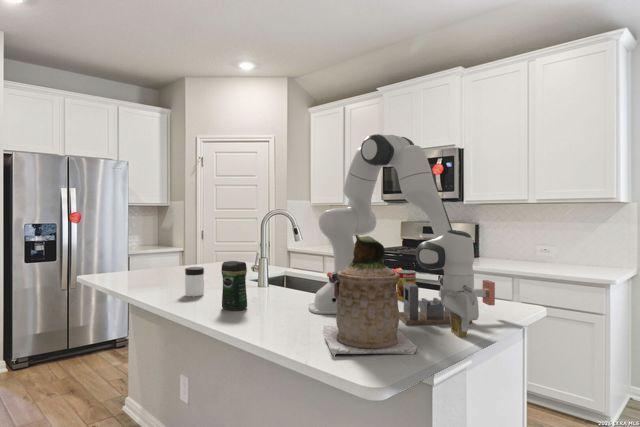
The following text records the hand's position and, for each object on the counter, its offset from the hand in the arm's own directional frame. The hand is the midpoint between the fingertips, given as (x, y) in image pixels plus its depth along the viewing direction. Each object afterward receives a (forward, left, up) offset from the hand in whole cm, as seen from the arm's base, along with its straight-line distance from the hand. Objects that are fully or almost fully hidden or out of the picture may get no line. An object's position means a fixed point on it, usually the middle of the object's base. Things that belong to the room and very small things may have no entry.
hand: (458, 327), depth 138 cm
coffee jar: (-72, +44, -2) cm, 84 cm away
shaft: (+10, +18, +3) cm, 21 cm away
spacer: (0, 0, -2) cm, 2 cm away
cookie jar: (-30, -4, -2) cm, 30 cm away
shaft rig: (-2, +18, -2) cm, 18 cm away
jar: (-92, +73, -2) cm, 117 cm away
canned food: (-1, +51, -2) cm, 51 cm away
